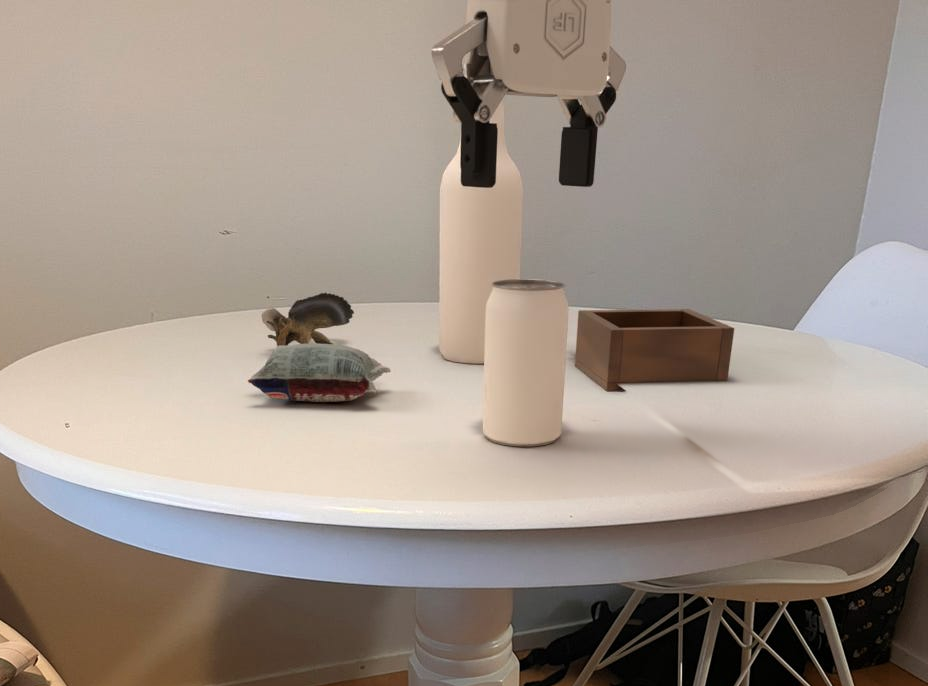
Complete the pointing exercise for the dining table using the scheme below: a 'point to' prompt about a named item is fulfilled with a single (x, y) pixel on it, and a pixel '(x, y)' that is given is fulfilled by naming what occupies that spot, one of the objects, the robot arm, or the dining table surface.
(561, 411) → the can
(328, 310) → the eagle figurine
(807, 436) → the dining table surface
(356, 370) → the packaged food
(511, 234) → the alcohol
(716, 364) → the box
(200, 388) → the dining table surface
